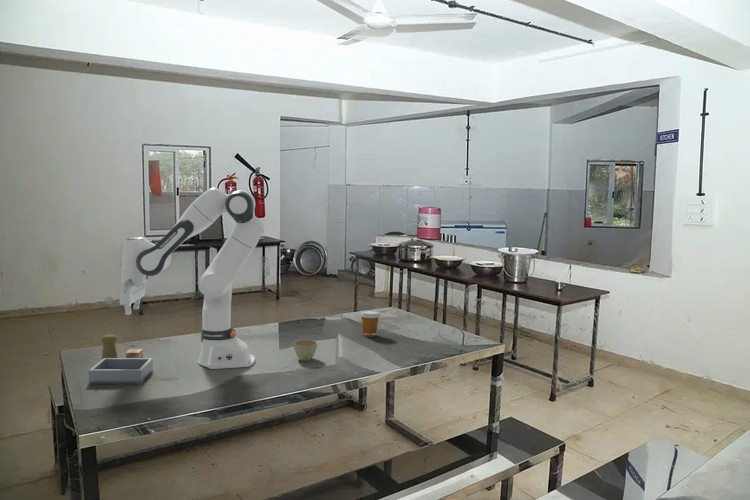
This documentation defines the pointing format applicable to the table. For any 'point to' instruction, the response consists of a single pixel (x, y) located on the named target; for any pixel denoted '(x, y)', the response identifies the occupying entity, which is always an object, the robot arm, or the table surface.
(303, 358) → the flower pot
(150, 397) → the table surface
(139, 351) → the tan cube
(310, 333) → the table surface
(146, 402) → the table surface
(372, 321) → the disposable coffee cup
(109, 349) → the cork
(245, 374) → the table surface
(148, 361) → the tote
